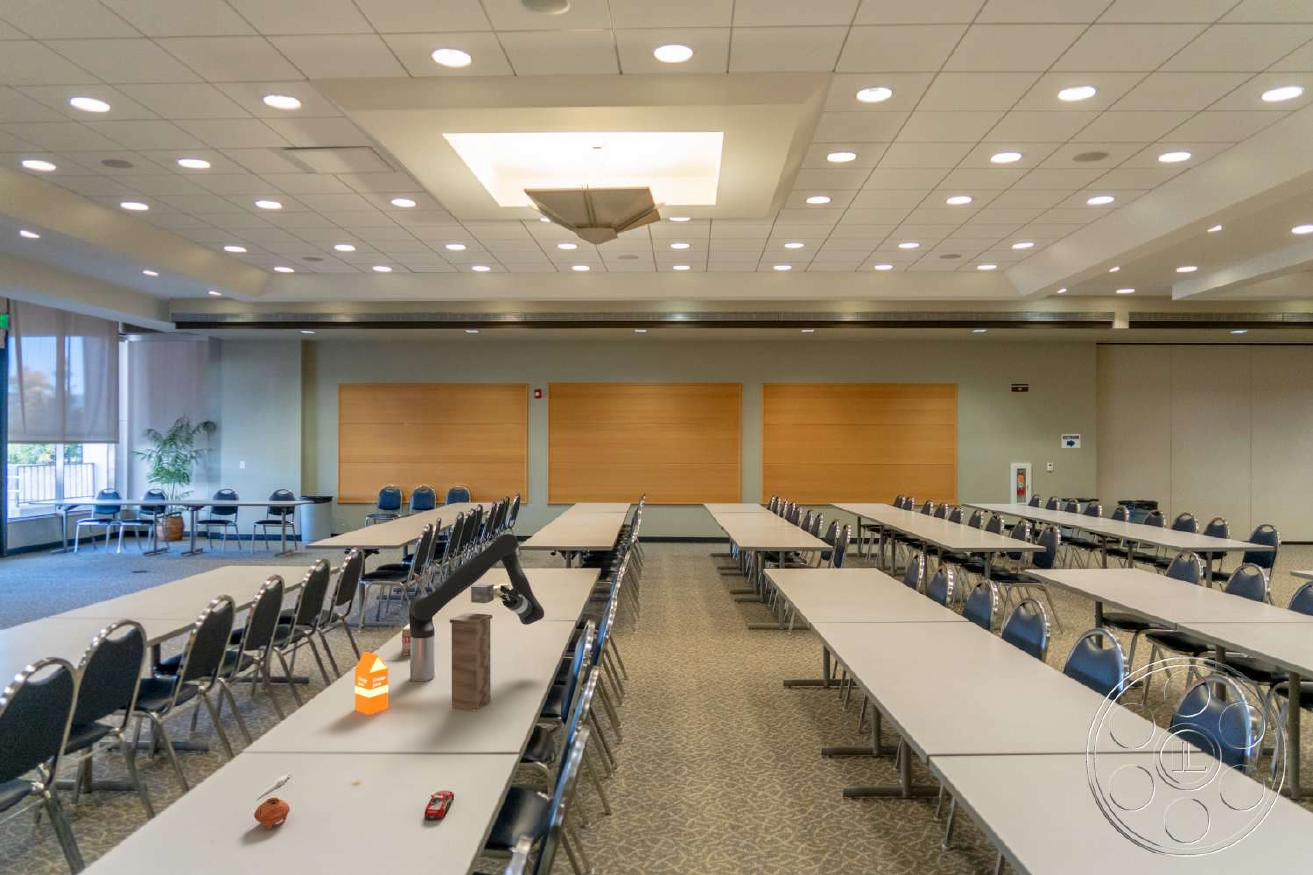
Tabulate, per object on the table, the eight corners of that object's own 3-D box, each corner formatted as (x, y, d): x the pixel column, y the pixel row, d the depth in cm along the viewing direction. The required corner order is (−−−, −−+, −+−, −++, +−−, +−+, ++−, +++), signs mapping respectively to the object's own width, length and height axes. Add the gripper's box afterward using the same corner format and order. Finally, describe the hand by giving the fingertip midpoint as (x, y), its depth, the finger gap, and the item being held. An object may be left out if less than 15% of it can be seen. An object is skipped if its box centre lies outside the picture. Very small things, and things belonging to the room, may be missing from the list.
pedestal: (466, 698, 284) (466, 612, 284) (492, 701, 281) (492, 614, 281) (449, 708, 273) (449, 619, 274) (476, 711, 270) (476, 621, 270)
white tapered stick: (286, 775, 219) (286, 769, 218) (294, 776, 218) (294, 770, 218) (251, 803, 204) (251, 796, 204) (260, 803, 203) (260, 797, 203)
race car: (436, 798, 205) (436, 783, 205) (456, 798, 205) (456, 783, 205) (420, 822, 192) (420, 806, 192) (442, 822, 192) (442, 806, 192)
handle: (498, 592, 302) (498, 576, 302) (511, 592, 300) (511, 577, 300) (471, 602, 283) (471, 586, 283) (485, 603, 281) (485, 587, 281)
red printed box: (415, 643, 363) (415, 617, 363) (428, 643, 363) (428, 617, 363) (401, 656, 342) (401, 628, 342) (416, 655, 342) (415, 628, 342)
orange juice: (373, 703, 279) (373, 648, 279) (388, 708, 274) (388, 652, 274) (354, 709, 273) (354, 653, 273) (369, 714, 268) (369, 657, 268)
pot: (282, 811, 197) (285, 787, 196) (292, 829, 191) (295, 805, 190) (248, 821, 191) (251, 796, 190) (257, 840, 186) (260, 815, 185)
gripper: (502, 591, 313) (483, 577, 299) (533, 593, 309) (515, 579, 294) (497, 609, 309) (477, 595, 295) (528, 611, 305) (510, 597, 291)
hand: (496, 587), depth 295 cm, fingers closed on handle, 3 cm apart
